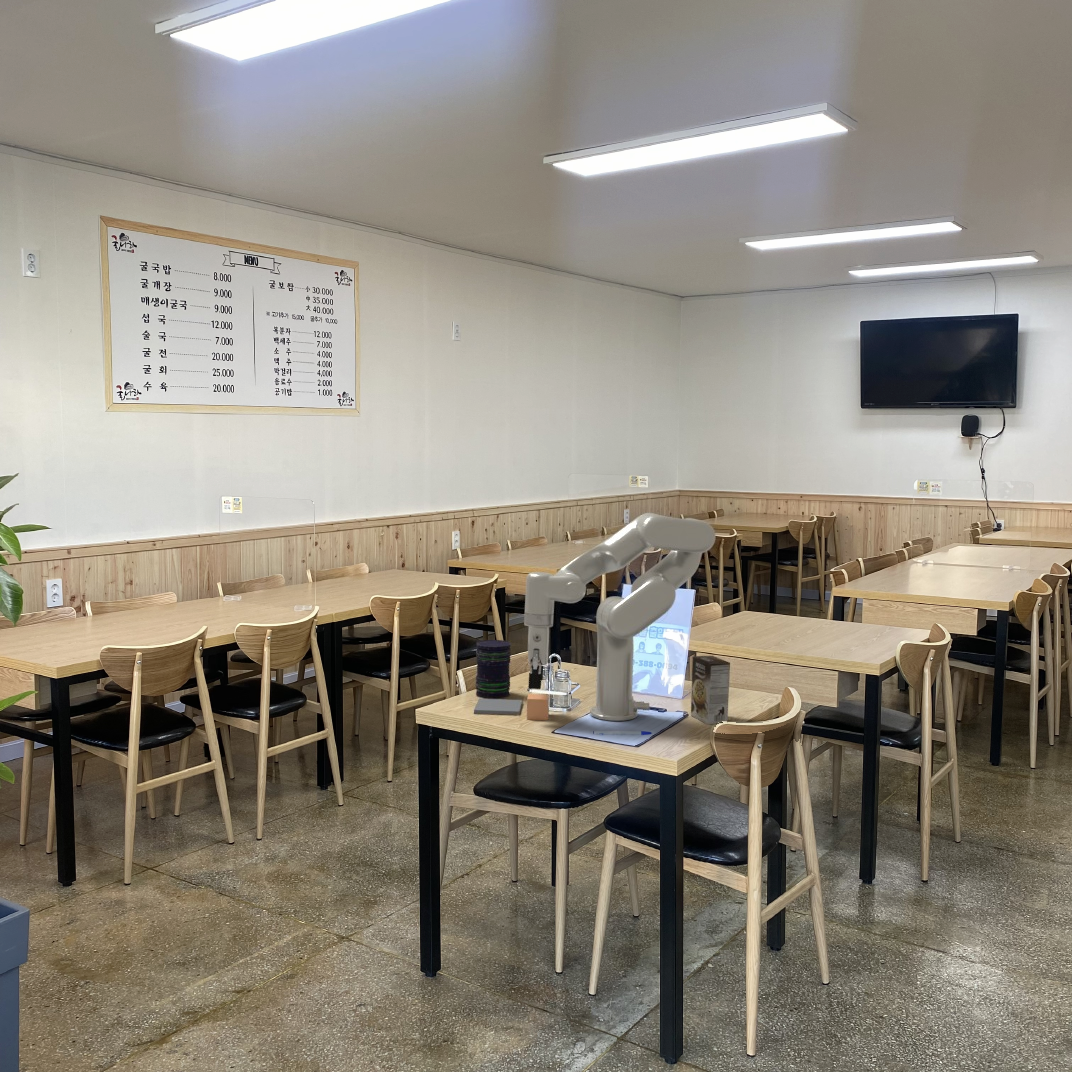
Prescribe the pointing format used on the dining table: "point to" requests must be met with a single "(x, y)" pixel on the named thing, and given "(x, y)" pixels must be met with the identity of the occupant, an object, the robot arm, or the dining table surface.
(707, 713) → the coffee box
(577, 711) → the dining table surface
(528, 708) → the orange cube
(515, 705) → the coaster mat
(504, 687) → the storage jar
